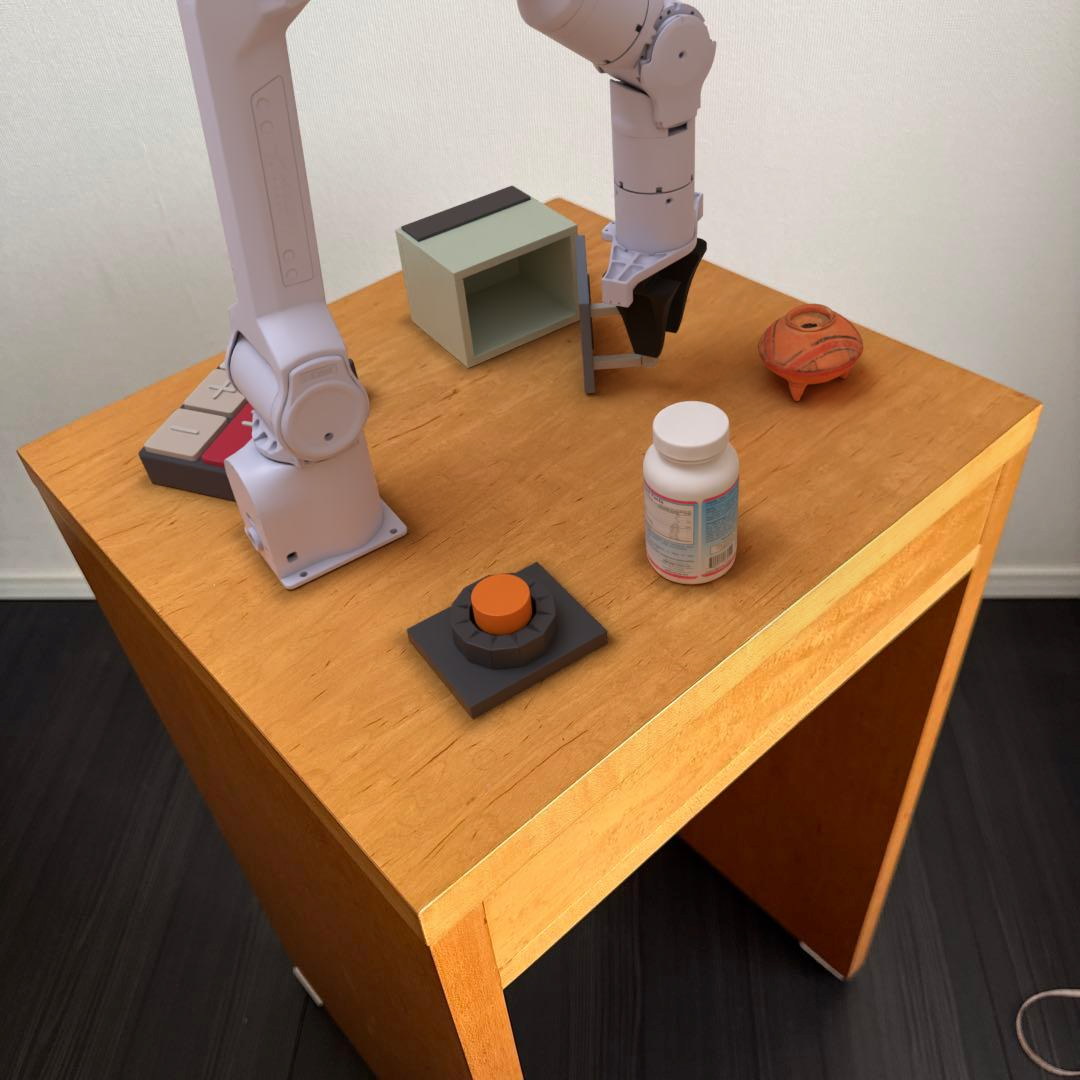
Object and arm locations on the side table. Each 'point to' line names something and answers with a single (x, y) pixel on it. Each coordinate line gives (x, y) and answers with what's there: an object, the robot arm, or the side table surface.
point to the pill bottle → (691, 494)
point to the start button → (501, 604)
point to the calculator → (202, 438)
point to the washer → (490, 274)
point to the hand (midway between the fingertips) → (656, 341)
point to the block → (506, 644)
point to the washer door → (586, 327)
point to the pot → (810, 346)
